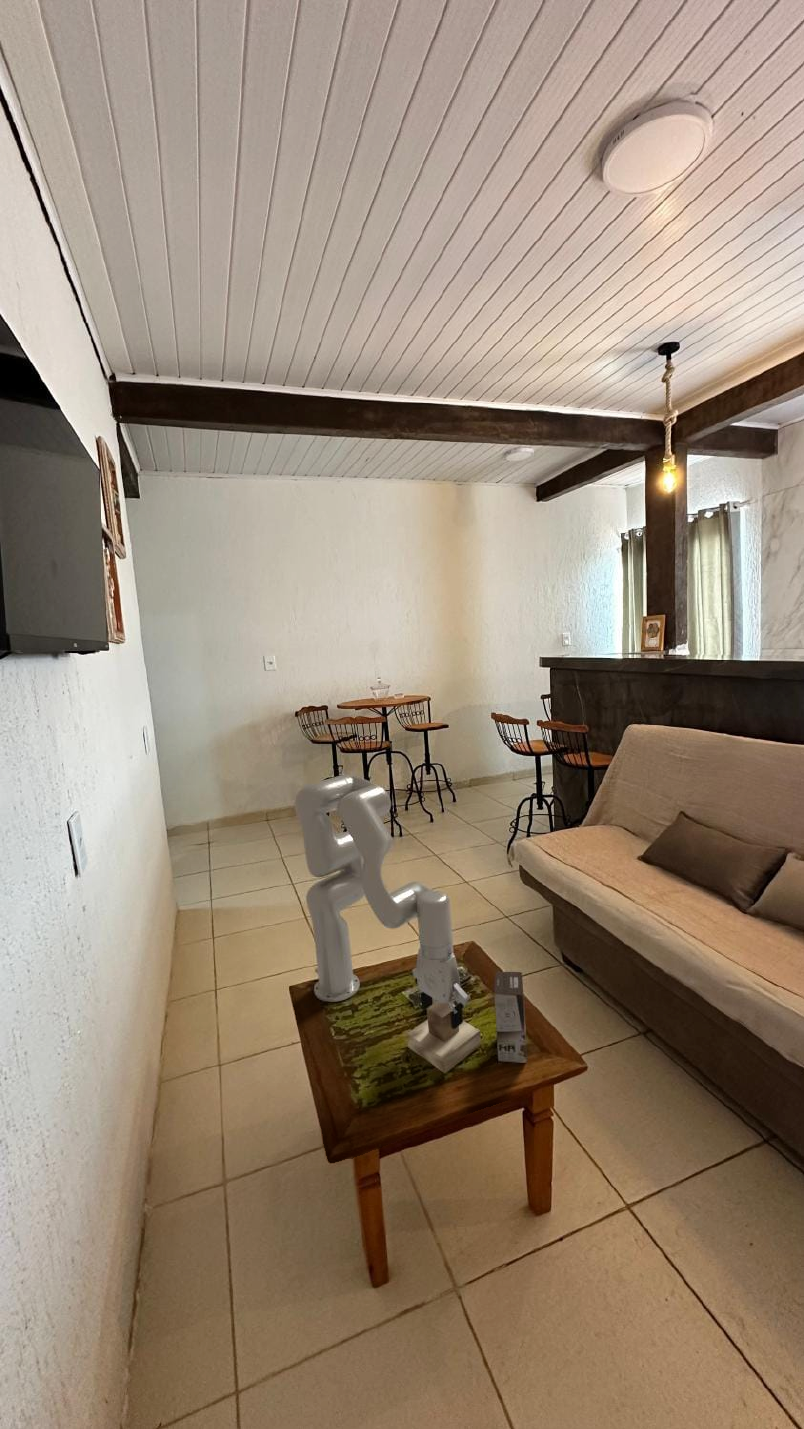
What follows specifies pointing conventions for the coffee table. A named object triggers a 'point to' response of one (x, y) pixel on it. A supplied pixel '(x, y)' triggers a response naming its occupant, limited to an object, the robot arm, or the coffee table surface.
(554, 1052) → the coffee table surface
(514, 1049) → the coffee box
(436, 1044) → the birch base
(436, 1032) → the walnut block
